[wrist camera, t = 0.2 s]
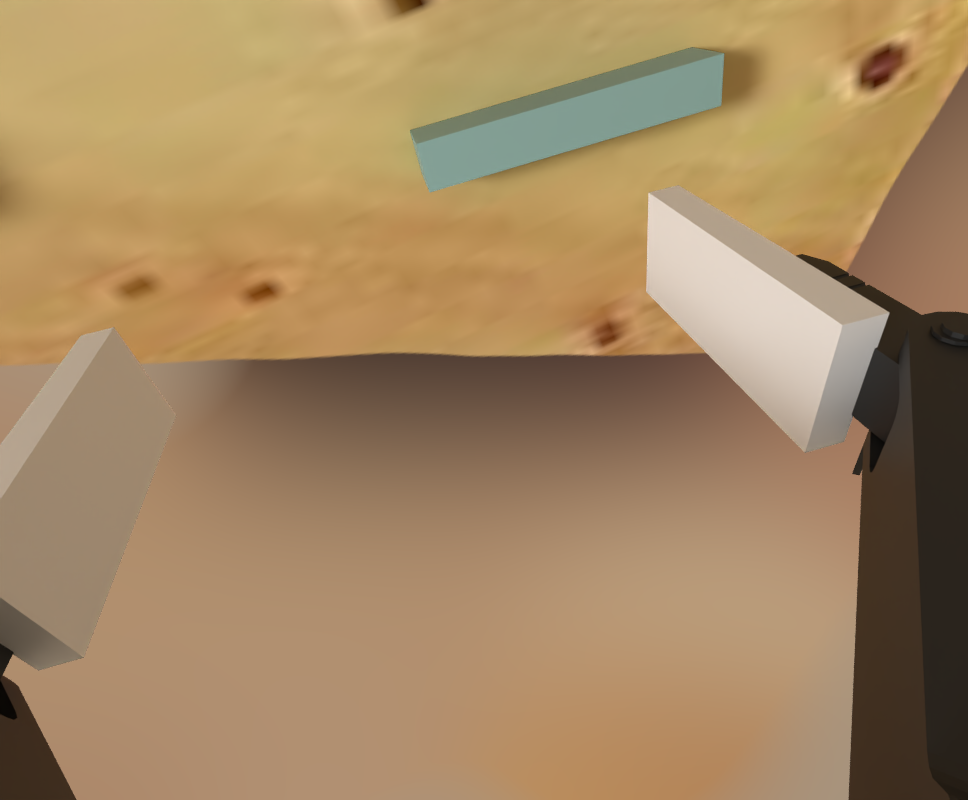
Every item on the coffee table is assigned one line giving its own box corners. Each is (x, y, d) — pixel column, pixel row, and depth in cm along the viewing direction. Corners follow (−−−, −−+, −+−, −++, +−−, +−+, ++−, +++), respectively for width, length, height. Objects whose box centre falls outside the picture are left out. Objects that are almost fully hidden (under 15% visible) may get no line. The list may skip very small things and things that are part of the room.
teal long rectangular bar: (409, 130, 36) (416, 144, 33) (692, 47, 37) (724, 53, 34) (422, 175, 38) (429, 192, 35) (690, 96, 39) (721, 105, 36)
